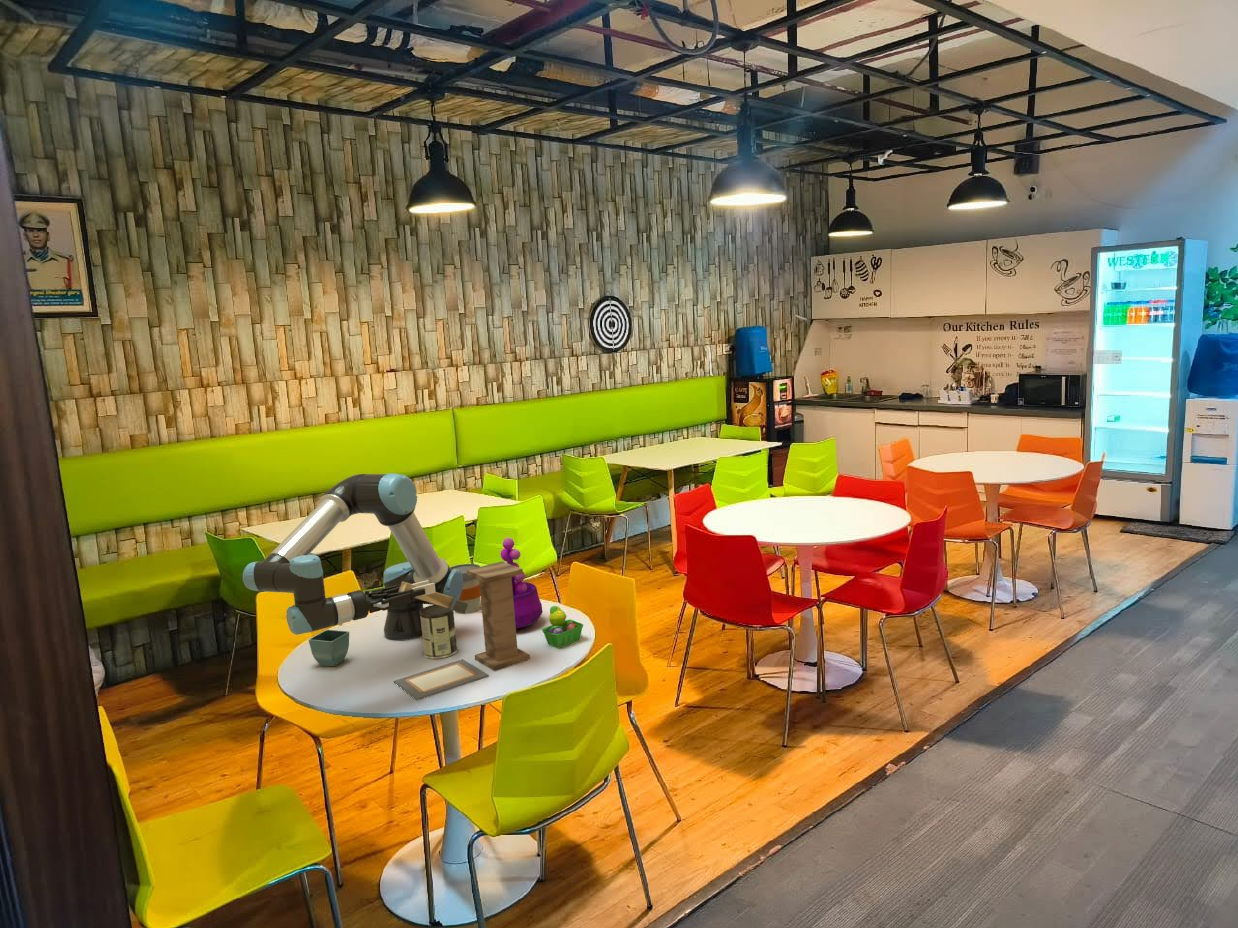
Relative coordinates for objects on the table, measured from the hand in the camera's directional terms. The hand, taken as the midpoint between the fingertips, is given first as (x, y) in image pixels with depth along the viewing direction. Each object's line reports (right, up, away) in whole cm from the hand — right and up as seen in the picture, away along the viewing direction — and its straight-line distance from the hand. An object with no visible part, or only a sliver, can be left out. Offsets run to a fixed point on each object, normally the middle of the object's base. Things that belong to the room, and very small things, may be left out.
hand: (431, 586), depth 237 cm
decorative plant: (+18, -20, +45) cm, 53 cm away
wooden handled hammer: (-1, -4, 0) cm, 4 cm away
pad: (+2, -27, +5) cm, 28 cm away
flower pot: (-35, -27, +22) cm, 49 cm away
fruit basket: (+35, -22, +28) cm, 50 cm away
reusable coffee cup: (-2, -18, +64) cm, 67 cm away
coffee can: (-3, -24, +25) cm, 35 cm away
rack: (+18, -24, +16) cm, 34 cm away
